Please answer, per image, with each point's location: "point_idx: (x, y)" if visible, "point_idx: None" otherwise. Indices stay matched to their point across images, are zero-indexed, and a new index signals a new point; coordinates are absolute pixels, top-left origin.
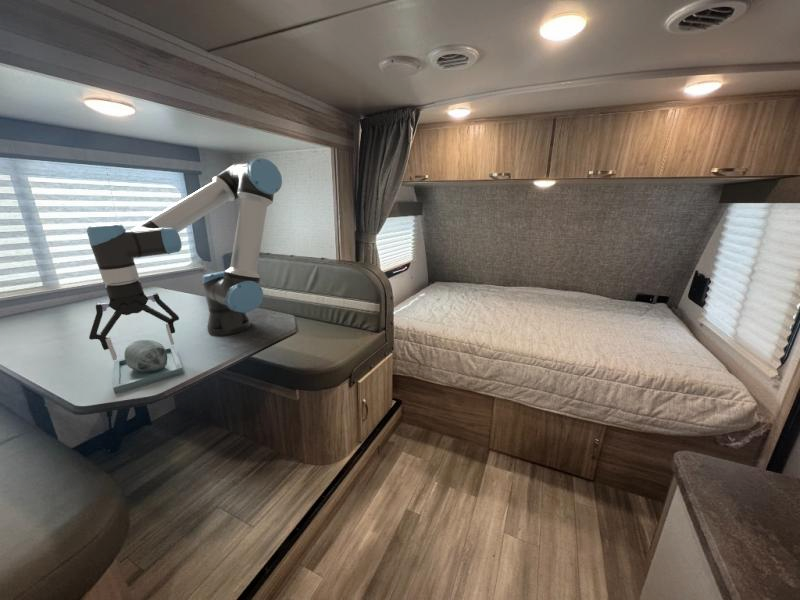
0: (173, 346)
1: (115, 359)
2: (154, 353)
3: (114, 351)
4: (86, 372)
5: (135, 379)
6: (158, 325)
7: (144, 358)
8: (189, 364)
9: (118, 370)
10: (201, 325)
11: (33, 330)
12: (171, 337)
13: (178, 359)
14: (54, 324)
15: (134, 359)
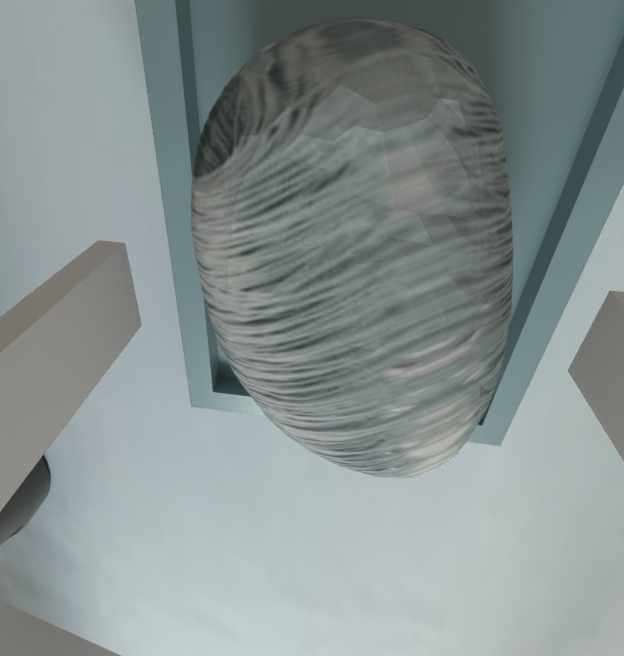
0: (194, 402)
1: (620, 292)
2: (288, 59)
3: (620, 383)
4: (607, 455)
5: None
6: (254, 637)
7: (414, 37)
8: (114, 80)
9: (541, 293)
10: (94, 551)
11: None
12: (54, 281)
13: (159, 140)
14: None
15: (497, 141)
